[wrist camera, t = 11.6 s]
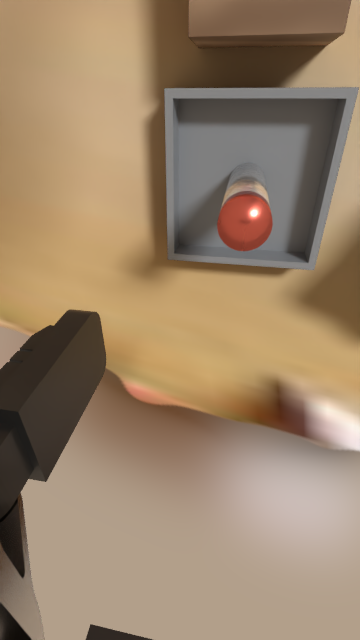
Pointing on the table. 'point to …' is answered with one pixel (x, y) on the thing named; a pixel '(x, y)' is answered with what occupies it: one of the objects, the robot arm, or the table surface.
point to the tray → (262, 150)
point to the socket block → (266, 22)
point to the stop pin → (245, 209)
